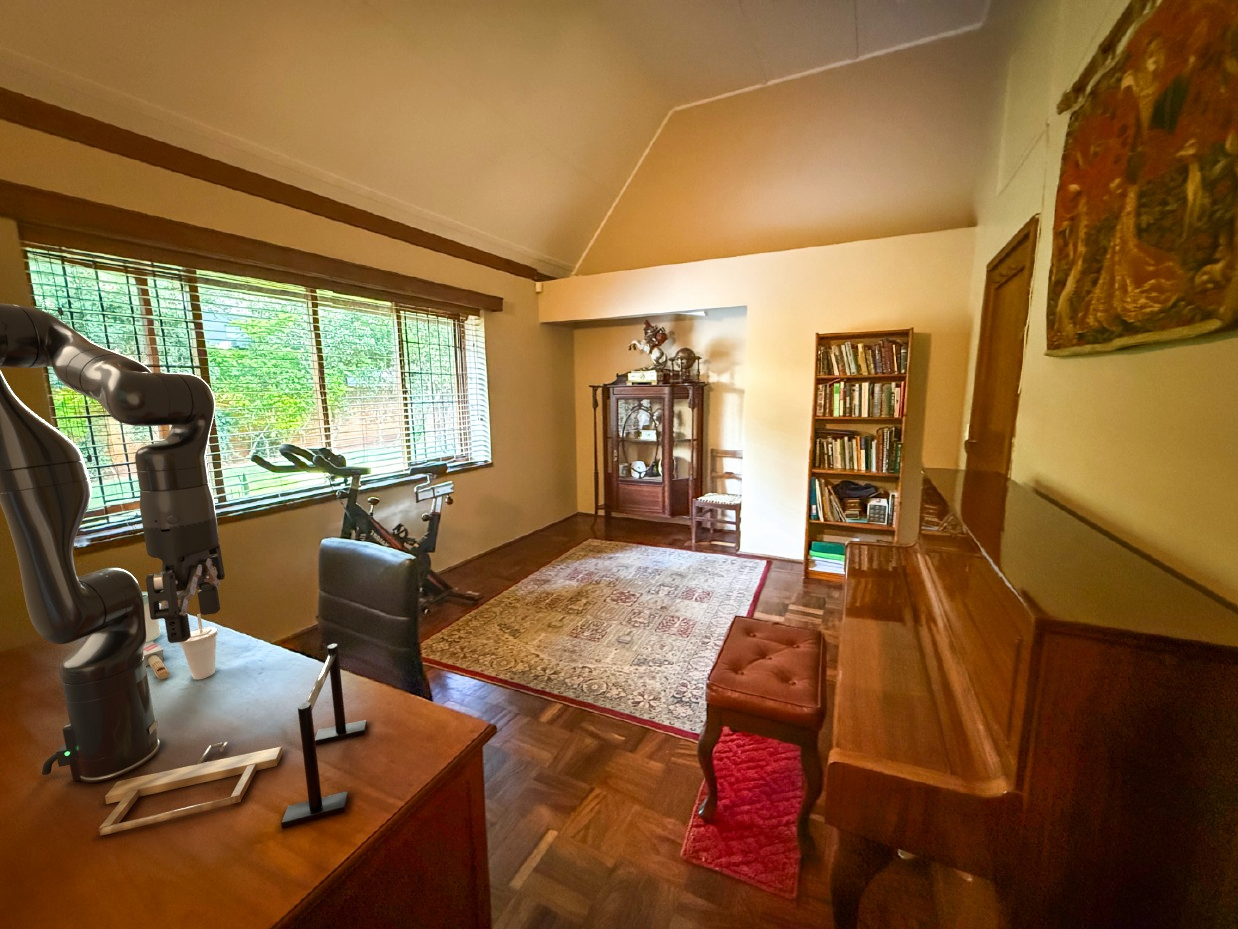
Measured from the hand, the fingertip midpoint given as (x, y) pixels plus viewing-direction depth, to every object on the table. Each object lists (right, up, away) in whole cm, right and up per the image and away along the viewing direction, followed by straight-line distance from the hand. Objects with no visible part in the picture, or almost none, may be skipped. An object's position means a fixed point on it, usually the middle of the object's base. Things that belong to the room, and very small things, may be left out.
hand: (196, 626), depth 68 cm
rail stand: (+13, -27, +10) cm, 32 cm away
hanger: (-4, -28, +1) cm, 28 cm away
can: (-60, -21, +51) cm, 81 cm away
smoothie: (-31, -24, +37) cm, 53 cm away
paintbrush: (-46, -23, +41) cm, 66 cm away
